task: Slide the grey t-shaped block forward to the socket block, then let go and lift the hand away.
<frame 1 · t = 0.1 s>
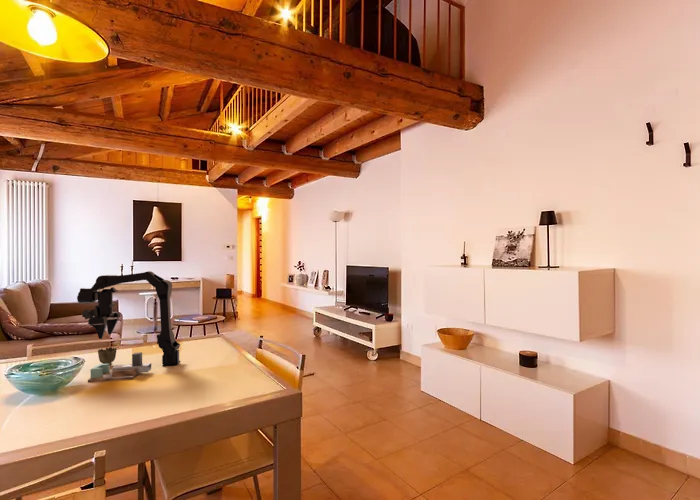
hand: (105, 336, 171), 15 cm above the table, tool pointing down, fingers open, 9 cm apart
grey t-shaped block: (132, 362, 161), point 5 cm above the table, slide at 0.0 cm
socket block: (100, 376, 159), resting on slide base
slide base: (118, 375, 160), on the table
cup: (107, 366, 175), on the table
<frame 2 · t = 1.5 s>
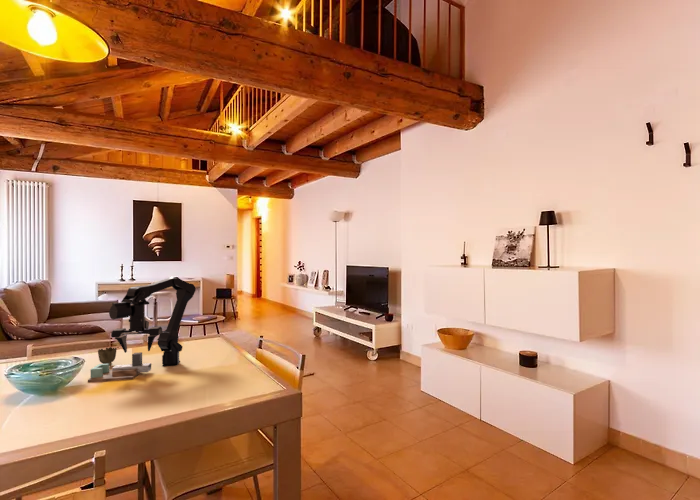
hand: (137, 351, 162), 10 cm above the table, tool pointing down, fingers open, 9 cm apart
nothing on the table moved.
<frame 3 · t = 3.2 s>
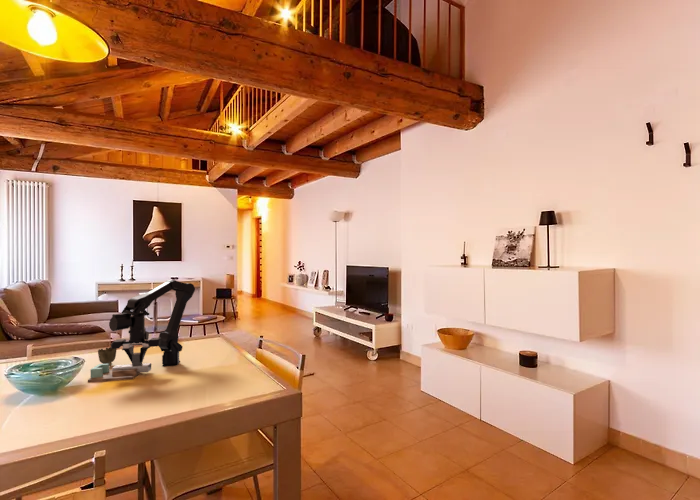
hand: (137, 362, 162), 5 cm above the table, tool pointing down, fingers closed on grey t-shaped block, 3 cm apart
grey t-shaped block: (132, 362, 161), point 5 cm above the table, slide at 0.0 cm, touching gripper
everything else where it was.
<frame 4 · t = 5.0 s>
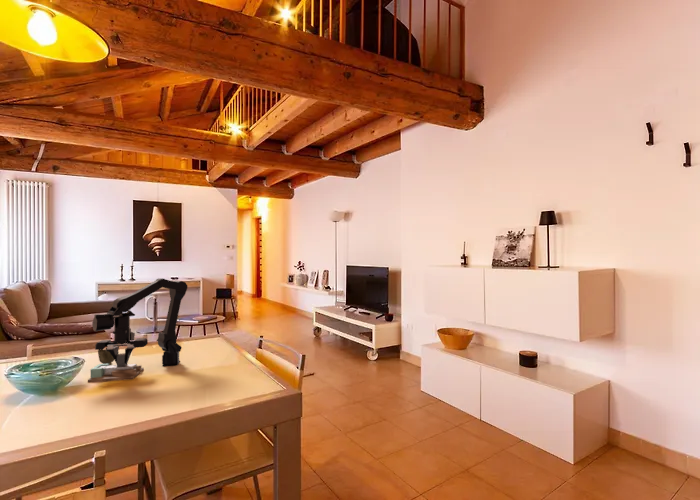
hand: (122, 363, 160), 5 cm above the table, tool pointing down, fingers closed on grey t-shaped block, 3 cm apart
grey t-shaped block: (117, 363, 160), point 5 cm above the table, slide at 5.9 cm, touching gripper
everything else where it was.
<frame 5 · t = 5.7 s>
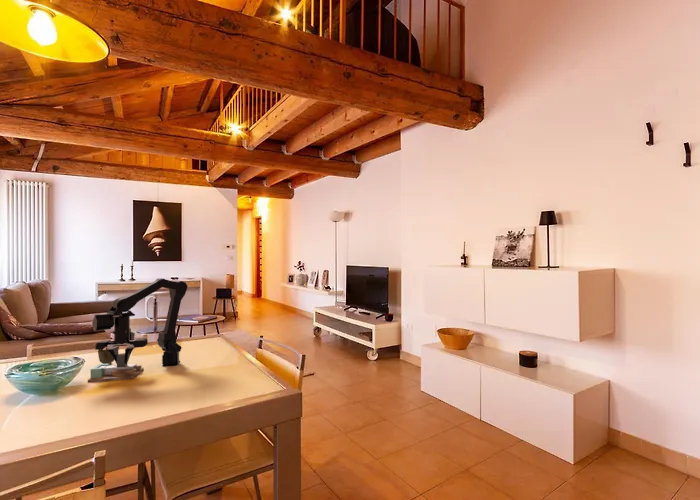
hand: (122, 363, 160), 5 cm above the table, tool pointing down, fingers closed on grey t-shaped block, 3 cm apart
grey t-shaped block: (117, 363, 160), point 5 cm above the table, slide at 5.9 cm, touching gripper
everything else where it was.
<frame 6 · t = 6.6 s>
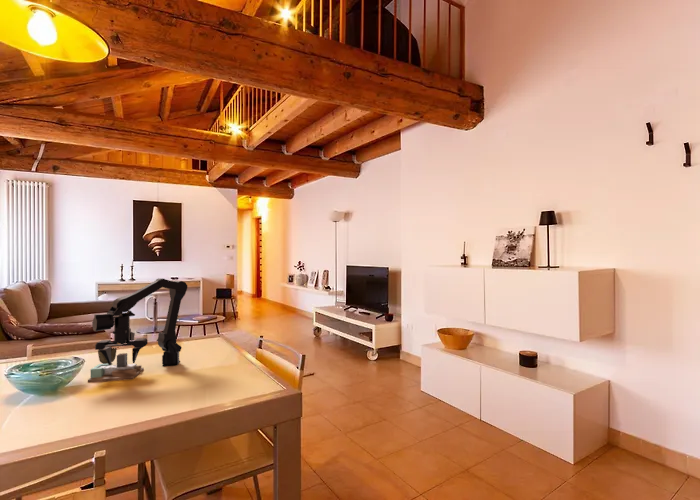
hand: (122, 363, 160), 5 cm above the table, tool pointing down, fingers open, 9 cm apart
grey t-shaped block: (117, 363, 160), point 5 cm above the table, slide at 6.0 cm
everything else where it was.
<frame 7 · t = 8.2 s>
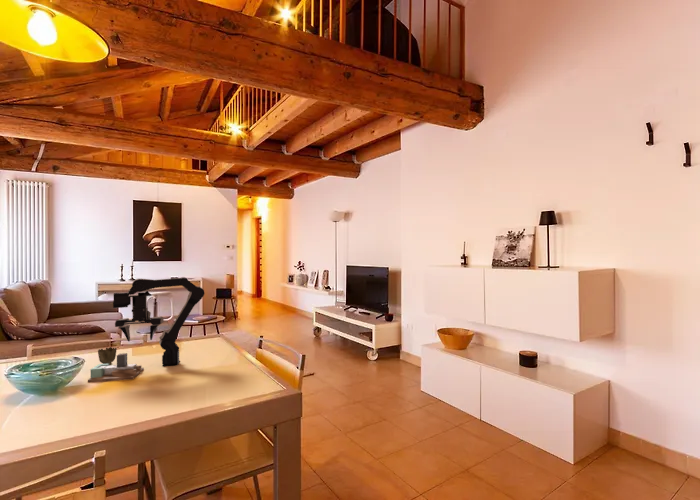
hand: (140, 340, 170), 13 cm above the table, tool pointing down, fingers open, 9 cm apart
nothing on the table moved.
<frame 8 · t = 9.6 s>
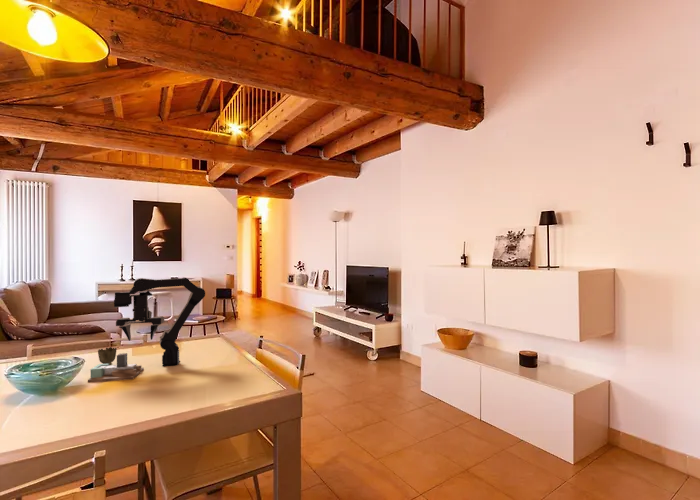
hand: (140, 340, 170), 13 cm above the table, tool pointing down, fingers open, 9 cm apart
nothing on the table moved.
at the end: grey t-shaped block slide at 6.0 cm; the gripper is holding nothing; cup moved 0.2 cm from its start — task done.
